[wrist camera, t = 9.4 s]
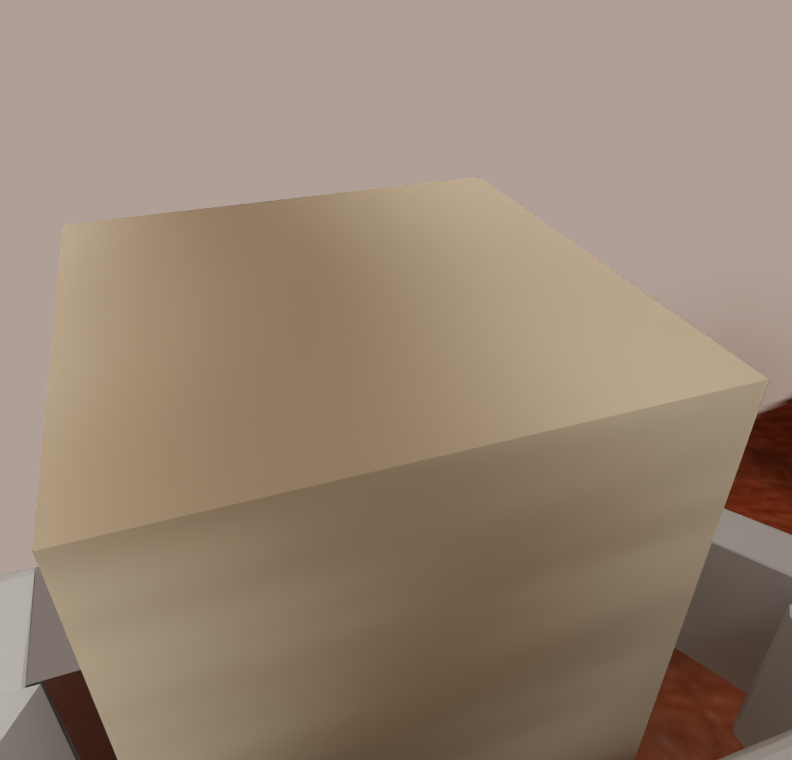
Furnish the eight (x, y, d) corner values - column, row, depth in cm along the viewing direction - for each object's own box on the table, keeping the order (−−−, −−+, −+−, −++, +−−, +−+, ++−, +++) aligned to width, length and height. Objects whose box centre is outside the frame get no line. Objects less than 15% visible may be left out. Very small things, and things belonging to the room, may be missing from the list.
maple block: (449, 623, 14) (478, 177, 9) (585, 897, 10) (769, 378, 5) (193, 701, 13) (62, 225, 8) (237, 1055, 9) (31, 551, 4)
